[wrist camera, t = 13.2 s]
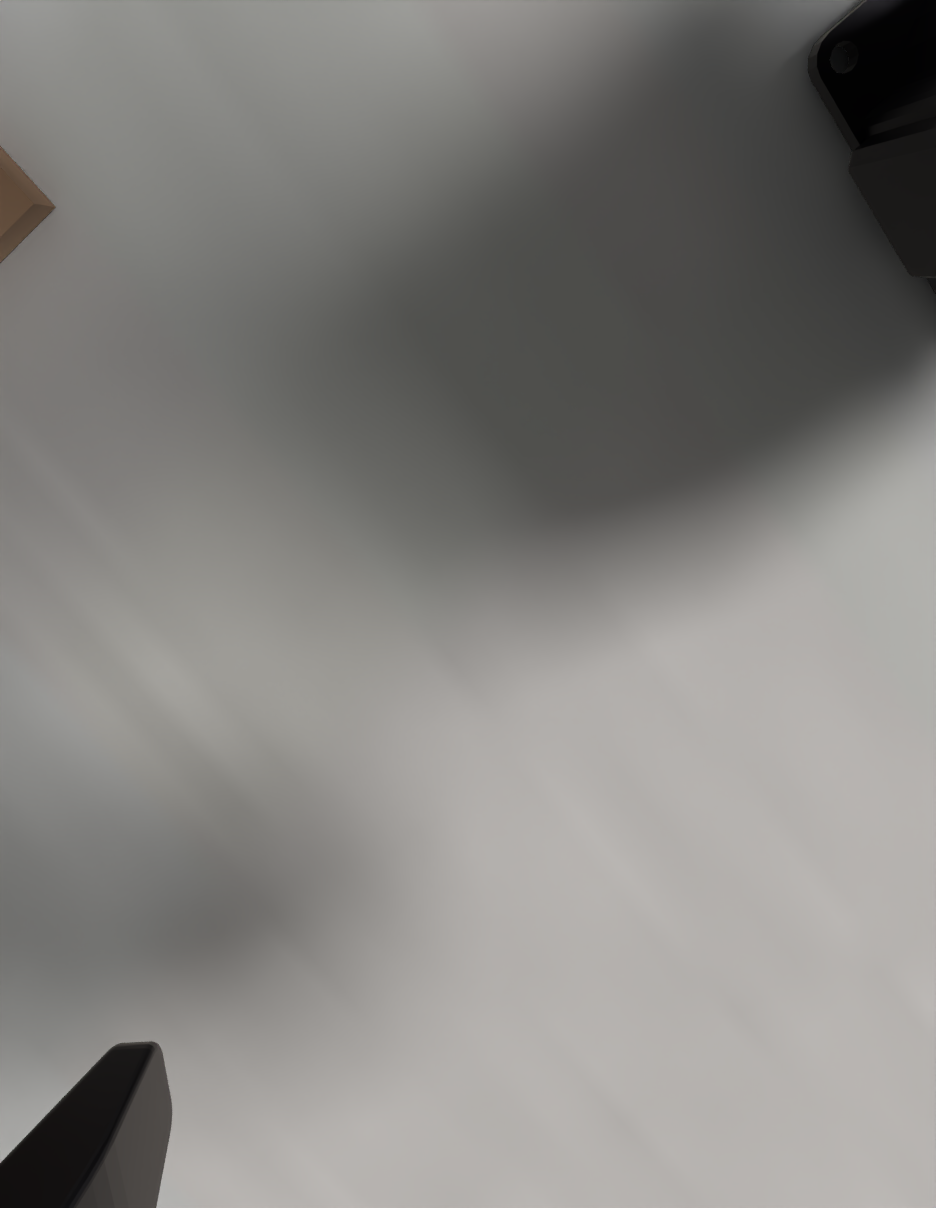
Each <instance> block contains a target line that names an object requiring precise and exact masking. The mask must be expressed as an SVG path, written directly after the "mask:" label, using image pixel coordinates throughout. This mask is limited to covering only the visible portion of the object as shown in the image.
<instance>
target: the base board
mask: <svg viewBox="0 0 936 1208" xmlns="http://www.w3.org/2000/svg"><path fill="white" fill-rule="evenodd" d="M54 208H55V206H54V205H53V204H52V203H51V201H50V200H49V199H48V198H47V197H46V196H45V195H44V194H43V193H42V191H41V190H40V189H39V188H38V187H37V186H36V185H35V184H34V183H33V182H32V180H31V179H30V178H29V177H28V176H27V175H26V174H25V173H24V172H23V171H22V169H21V168H20V167H19V166H18V165H17V164H16V163H15V162H14V161H13V160H12V158H11V157H10V156H9V155H8V154H7V153H6V152H5V151H4V150H3V148H2V147H1V146H0V263H1V262H2V260H3V259H4V258H5V257H6V256H7V255H8V254H9V253H10V252H11V251H12V250H13V249H14V248H15V247H16V246H17V245H18V244H19V243H20V242H21V241H22V240H23V239H24V238H25V237H26V236H27V235H28V234H29V233H30V232H31V231H32V230H33V229H34V228H35V227H36V226H37V225H38V224H39V223H40V222H41V221H42V220H43V219H44V218H45V217H46V216H47V215H48V214H49V213H50V212H51V211H52V210H53V209H54Z"/></svg>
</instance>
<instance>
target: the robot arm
mask: <svg viewBox="0 0 936 1208" xmlns="http://www.w3.org/2000/svg"><path fill="white" fill-rule="evenodd" d="M835 46H839V47H842V48H843V49H844V50H845V51H846V52H847V54H848V58H849V61H848V66H847V69H846V70H845V71H844V73H837V72H836V71H835V70H834V69H833V68H832V66H831V63H830V56H831V52H832V50H833V49H834V47H835ZM808 73H809V76H810V79H811V81H812V83H813V85H814V87H815V88H816V90H817V92H818V94H819V95H820V97H821V99H822V100H823V102H824V104H825V106H826V107H827V109H828V111H829V112H830V114H831V116H832V117H833V119H834V121H835V123H836V124H837V126H838V128H839V129H840V131H841V133H842V135H843V136H844V138H845V140H846V141H847V143H848V145H849V147H850V148H851V150H852V152H851V154H850V160H849V167H848V171H849V173H850V175H851V177H852V178H853V180H854V182H855V183H856V185H857V187H858V189H859V190H860V192H861V194H862V195H863V197H864V199H865V200H866V202H867V204H868V205H869V207H870V209H871V211H872V212H873V214H874V216H875V217H876V219H877V221H878V222H879V224H880V226H881V227H882V229H883V231H884V233H885V234H886V236H887V238H888V239H889V241H890V243H891V244H892V246H893V248H894V250H895V251H896V253H897V255H898V256H899V258H900V260H901V261H902V263H903V265H904V266H905V268H906V270H907V272H908V273H909V274H910V275H911V276H915V277H924V278H927V280H928V282H929V283H930V285H931V287H932V289H933V290H934V292H935V294H936V0H864V1H863V2H861V3H860V4H859V5H858V6H857V7H856V8H854V9H853V10H852V11H851V12H850V13H849V14H847V15H846V16H845V17H844V18H843V19H842V20H840V21H839V22H838V23H837V24H836V25H835V26H833V27H832V28H831V29H830V30H829V31H827V32H826V33H825V34H824V35H823V36H822V37H820V39H819V40H818V41H817V42H816V44H815V45H814V46H813V48H812V50H811V53H810V55H809V58H808ZM171 1123H172V1102H171V1096H170V1090H169V1085H168V1080H167V1074H166V1069H165V1063H164V1058H163V1053H162V1050H161V1048H160V1046H159V1044H157V1043H155V1042H132V1043H120V1044H117V1045H115V1046H114V1047H112V1048H111V1049H110V1050H109V1051H108V1052H107V1053H106V1054H105V1055H104V1056H103V1057H102V1058H101V1059H100V1060H99V1061H98V1062H97V1063H96V1064H95V1065H94V1066H93V1067H92V1068H91V1069H90V1070H89V1071H88V1072H87V1073H86V1074H85V1075H84V1076H83V1078H82V1079H81V1080H80V1081H79V1082H78V1083H77V1084H76V1085H75V1086H74V1087H73V1088H72V1089H71V1090H70V1091H69V1092H68V1093H67V1094H66V1095H65V1096H64V1097H63V1098H62V1099H61V1100H60V1101H59V1103H58V1104H57V1105H56V1106H55V1107H54V1108H53V1109H52V1110H51V1111H50V1112H49V1113H48V1114H47V1115H46V1116H45V1117H44V1118H43V1119H42V1120H41V1121H40V1122H39V1123H38V1124H37V1125H36V1126H35V1127H34V1129H33V1130H32V1131H31V1132H30V1133H29V1134H28V1135H27V1136H26V1137H25V1138H24V1139H23V1140H22V1141H21V1142H20V1143H19V1144H18V1145H17V1146H16V1147H15V1148H14V1149H13V1150H12V1151H11V1152H10V1153H9V1155H8V1156H7V1157H6V1158H5V1159H4V1160H3V1161H2V1162H1V1163H0V1208H156V1206H157V1200H158V1195H159V1190H160V1184H161V1179H162V1174H163V1168H164V1163H165V1158H166V1152H167V1147H168V1142H169V1136H170V1131H171Z"/></svg>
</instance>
